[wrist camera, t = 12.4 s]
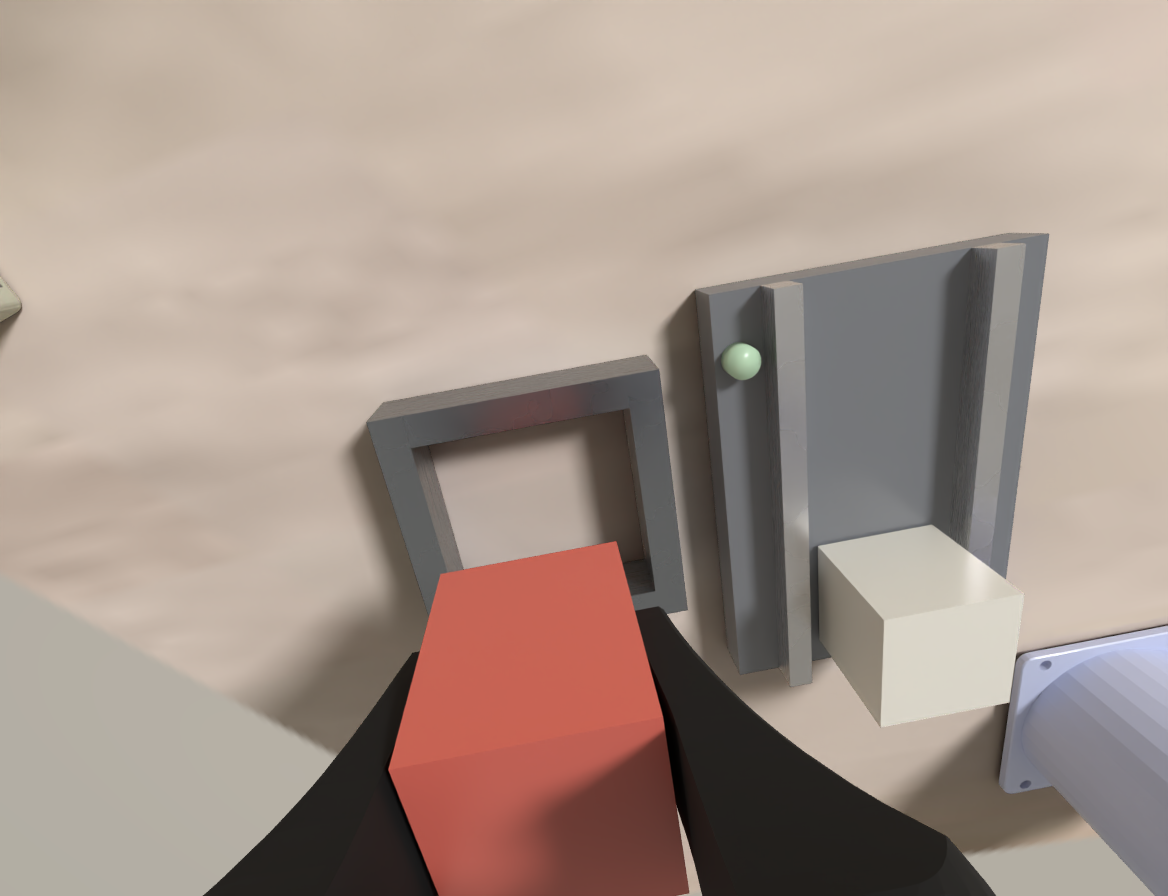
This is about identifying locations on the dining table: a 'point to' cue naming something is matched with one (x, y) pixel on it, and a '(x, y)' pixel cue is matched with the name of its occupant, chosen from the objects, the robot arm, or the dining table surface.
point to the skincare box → (8, 301)
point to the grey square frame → (527, 403)
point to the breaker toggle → (917, 624)
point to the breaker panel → (862, 420)
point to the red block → (539, 736)
